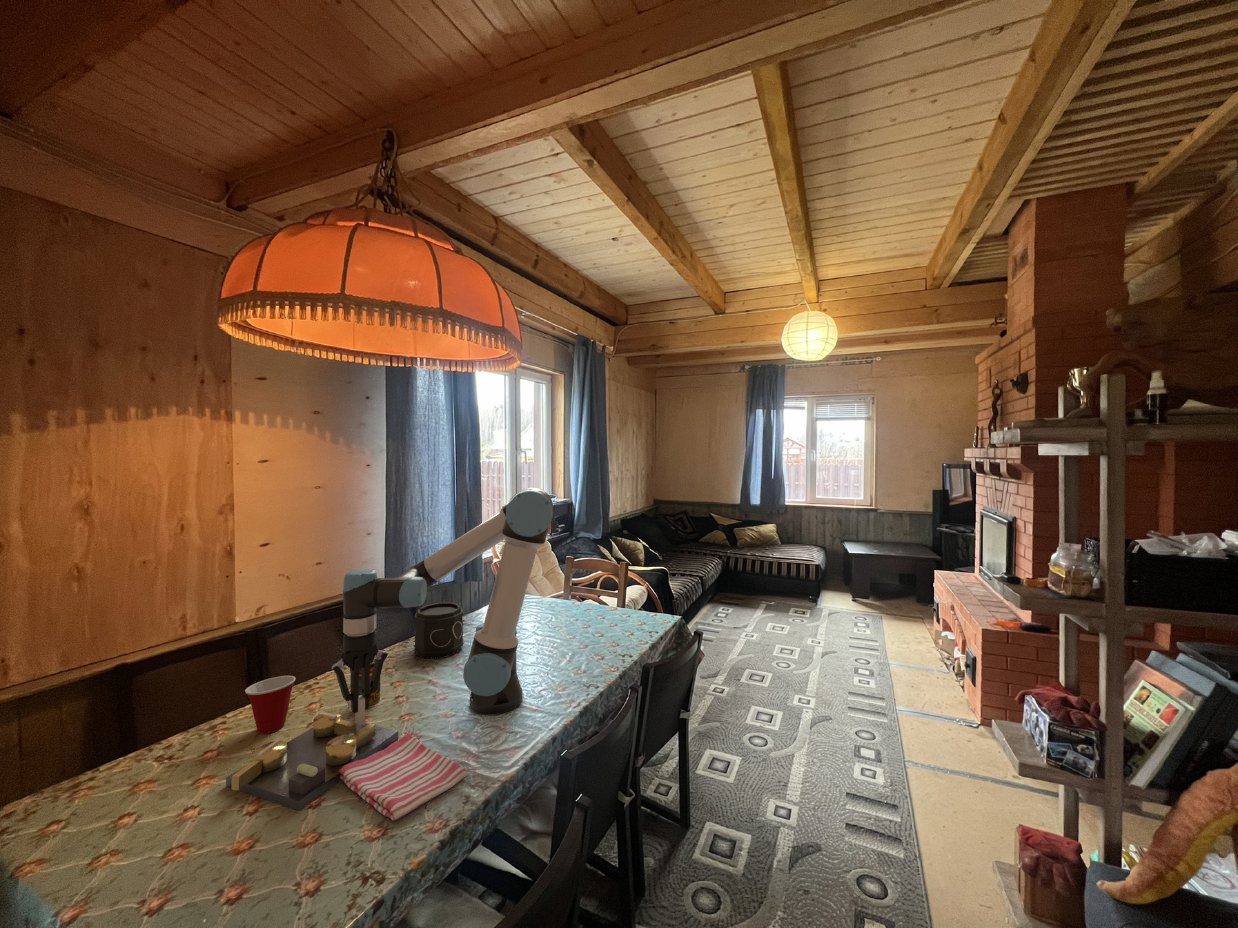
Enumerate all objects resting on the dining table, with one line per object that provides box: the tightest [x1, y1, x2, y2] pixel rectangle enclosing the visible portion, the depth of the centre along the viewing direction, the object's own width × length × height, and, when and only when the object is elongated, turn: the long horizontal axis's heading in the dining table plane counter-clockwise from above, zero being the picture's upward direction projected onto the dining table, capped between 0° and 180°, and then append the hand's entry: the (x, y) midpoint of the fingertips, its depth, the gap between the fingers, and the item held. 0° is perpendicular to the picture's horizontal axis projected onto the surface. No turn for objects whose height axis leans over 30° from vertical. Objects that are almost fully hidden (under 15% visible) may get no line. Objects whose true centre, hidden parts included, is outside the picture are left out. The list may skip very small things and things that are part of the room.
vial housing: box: [289, 764, 325, 795], centre depth 99 cm, size 5×5×4 cm
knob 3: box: [326, 723, 376, 765], centre depth 110 cm, size 12×6×4 cm, turn 161°
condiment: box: [347, 658, 384, 713], centre depth 137 cm, size 7×8×12 cm
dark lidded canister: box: [413, 602, 465, 660], centre depth 175 cm, size 18×18×16 cm
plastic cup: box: [244, 675, 296, 735], centre depth 124 cm, size 11×11×12 cm
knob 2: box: [312, 709, 356, 737], centre depth 118 cm, size 12×6×4 cm, turn 71°
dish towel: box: [339, 732, 468, 821], centre depth 103 cm, size 17×23×4 cm
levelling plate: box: [225, 717, 399, 812], centre depth 110 cm, size 22×26×2 cm
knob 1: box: [231, 739, 288, 791], centre depth 102 cm, size 12×6×4 cm, turn 175°
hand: (360, 723), depth 120 cm, fingers closed
